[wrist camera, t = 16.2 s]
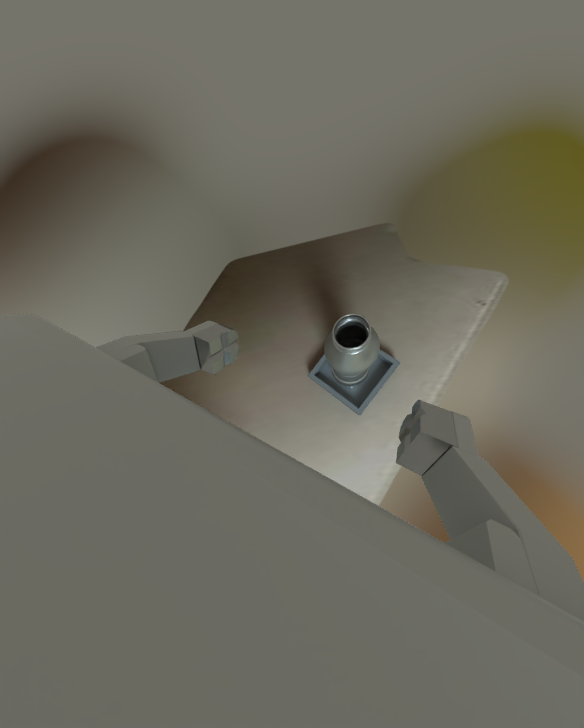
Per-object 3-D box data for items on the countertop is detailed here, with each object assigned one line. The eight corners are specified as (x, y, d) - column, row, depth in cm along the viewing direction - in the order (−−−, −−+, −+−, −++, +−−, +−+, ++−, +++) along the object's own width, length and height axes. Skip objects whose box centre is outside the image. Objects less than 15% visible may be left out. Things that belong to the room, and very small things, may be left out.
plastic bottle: (325, 375, 40) (303, 343, 21) (345, 346, 40) (342, 288, 21) (354, 395, 38) (360, 379, 19) (376, 364, 38) (403, 318, 19)
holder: (359, 415, 37) (359, 415, 34) (310, 378, 41) (307, 375, 38) (396, 365, 37) (400, 362, 35) (345, 333, 41) (344, 327, 38)
